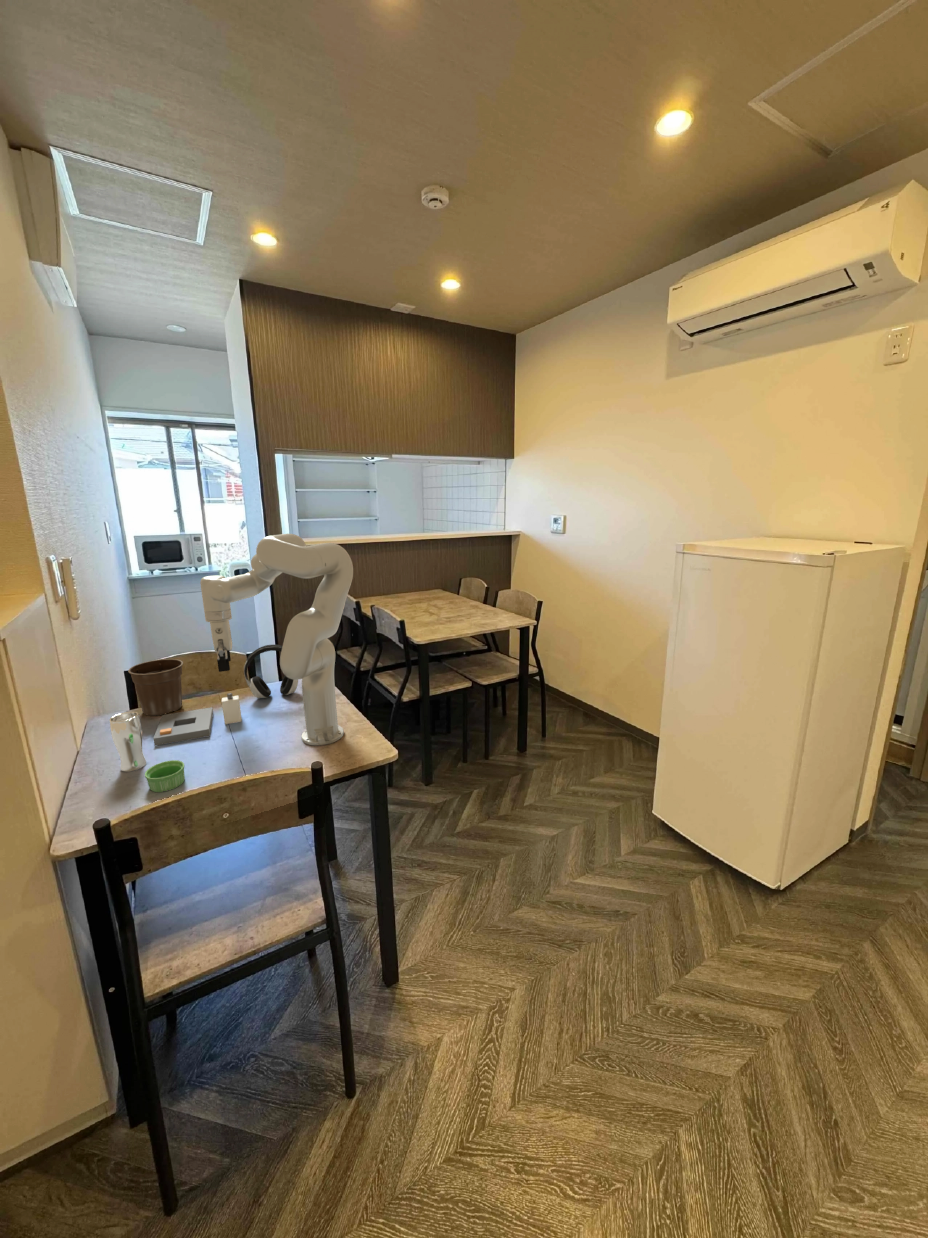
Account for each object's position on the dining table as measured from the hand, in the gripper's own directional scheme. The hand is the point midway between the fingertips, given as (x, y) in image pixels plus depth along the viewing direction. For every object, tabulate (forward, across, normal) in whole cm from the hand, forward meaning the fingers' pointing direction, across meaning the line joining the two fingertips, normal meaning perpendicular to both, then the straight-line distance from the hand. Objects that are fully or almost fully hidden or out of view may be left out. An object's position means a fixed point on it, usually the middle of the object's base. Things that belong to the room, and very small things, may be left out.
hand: (225, 666), depth 162 cm
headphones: (+20, +16, -14) cm, 29 cm away
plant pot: (+20, +21, +23) cm, 37 cm away
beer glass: (+20, -20, +25) cm, 37 cm away
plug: (+19, 0, 0) cm, 19 cm away
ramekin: (+19, -34, +15) cm, 42 cm away
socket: (+19, 0, +14) cm, 24 cm away
